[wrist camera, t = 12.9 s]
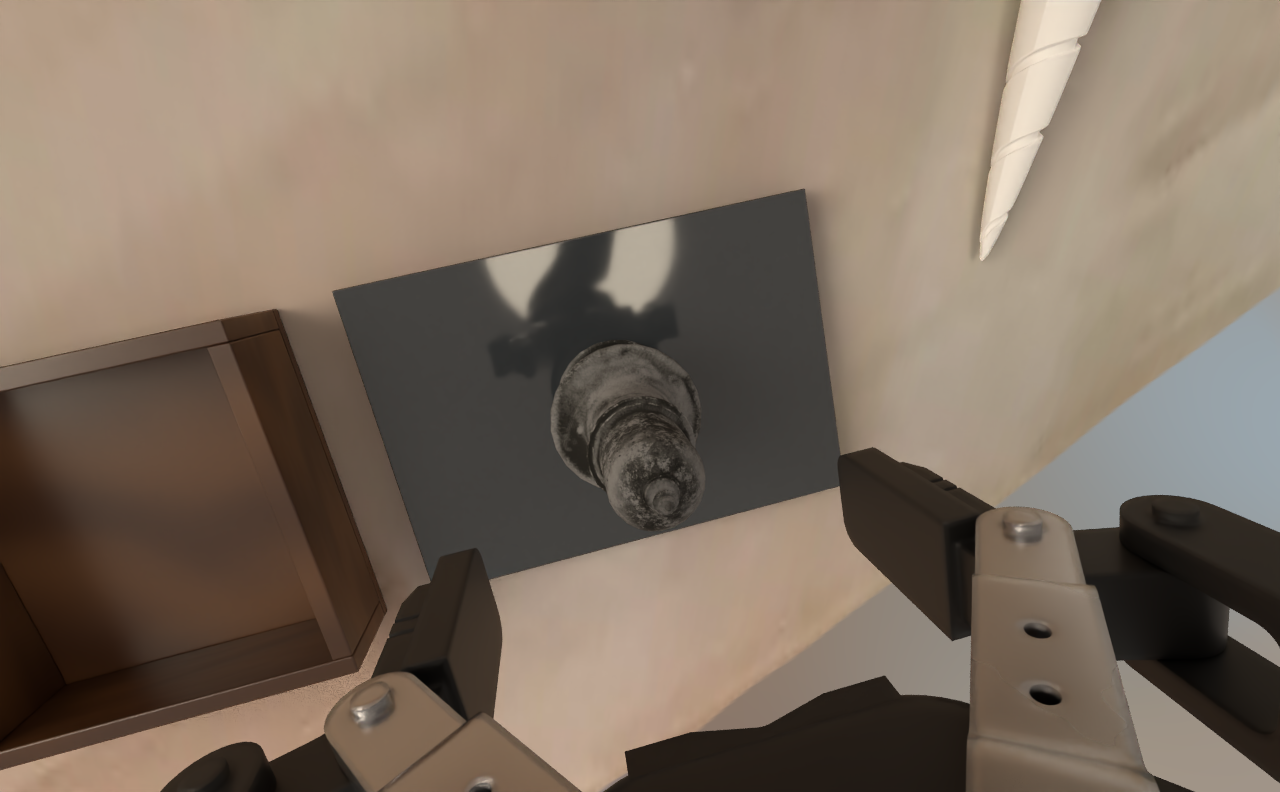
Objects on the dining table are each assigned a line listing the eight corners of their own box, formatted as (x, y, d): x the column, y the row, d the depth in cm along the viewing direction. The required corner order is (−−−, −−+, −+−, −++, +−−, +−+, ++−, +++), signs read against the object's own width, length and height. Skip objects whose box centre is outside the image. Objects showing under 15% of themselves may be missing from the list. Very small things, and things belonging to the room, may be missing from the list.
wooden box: (-105, 391, 23) (-250, 421, 19) (277, 308, 25) (220, 319, 20) (63, 696, 27) (-27, 778, 23) (387, 610, 28) (358, 672, 24)
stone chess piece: (703, 362, 27) (820, 443, 15) (650, 479, 27) (723, 640, 16) (581, 311, 25) (606, 356, 14) (530, 435, 26) (513, 575, 15)
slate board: (341, 289, 25) (331, 291, 24) (794, 191, 27) (805, 188, 26) (439, 580, 28) (434, 594, 27) (833, 476, 30) (844, 485, 29)
